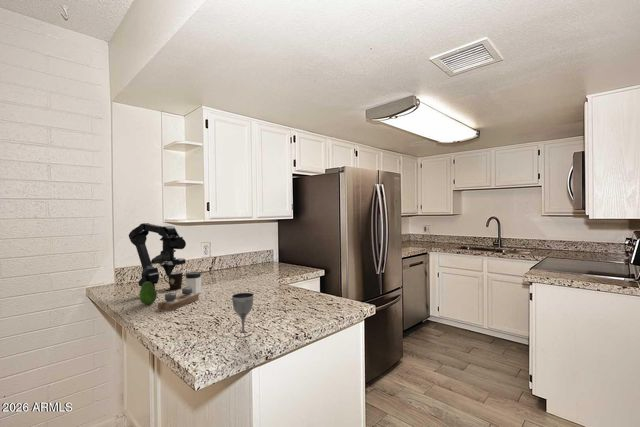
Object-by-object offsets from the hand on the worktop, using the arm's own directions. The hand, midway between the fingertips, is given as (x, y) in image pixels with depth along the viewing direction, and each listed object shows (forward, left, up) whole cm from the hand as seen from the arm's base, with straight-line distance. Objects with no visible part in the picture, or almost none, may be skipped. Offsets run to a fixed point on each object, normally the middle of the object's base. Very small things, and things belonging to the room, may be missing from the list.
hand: (168, 276), depth 170 cm
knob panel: (+14, -8, -12) cm, 20 cm away
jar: (+6, +13, -12) cm, 19 cm away
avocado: (-1, -12, -12) cm, 17 cm away
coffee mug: (-14, +20, -12) cm, 27 cm away
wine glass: (+67, -35, -12) cm, 77 cm away
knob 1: (+14, -14, -9) cm, 22 cm away
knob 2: (+14, -2, -9) cm, 17 cm away
